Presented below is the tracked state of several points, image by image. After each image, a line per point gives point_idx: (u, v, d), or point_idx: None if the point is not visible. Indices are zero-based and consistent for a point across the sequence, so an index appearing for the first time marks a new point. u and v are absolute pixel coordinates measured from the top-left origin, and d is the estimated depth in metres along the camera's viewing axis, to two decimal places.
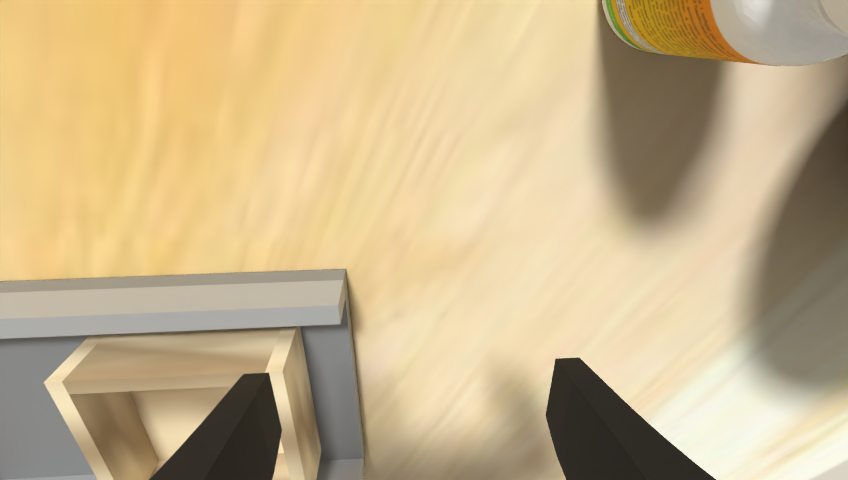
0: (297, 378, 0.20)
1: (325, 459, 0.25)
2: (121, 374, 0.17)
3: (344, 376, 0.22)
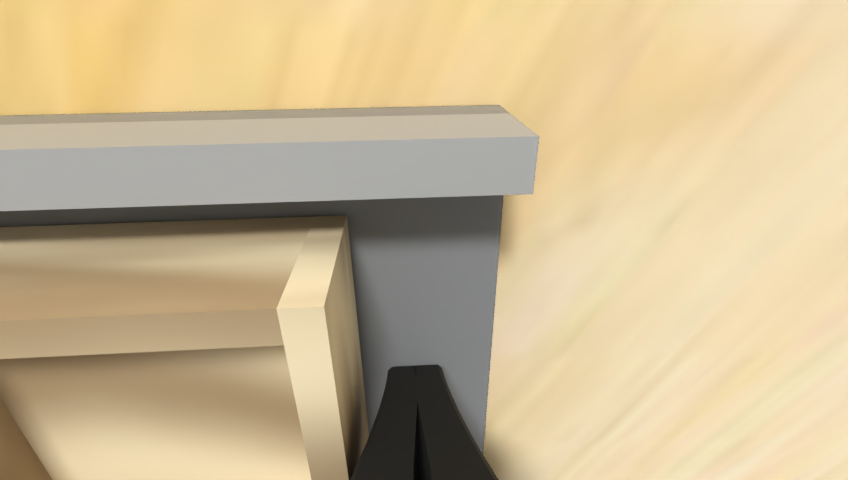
0: (347, 341, 0.09)
1: None
2: None
3: (473, 343, 0.11)
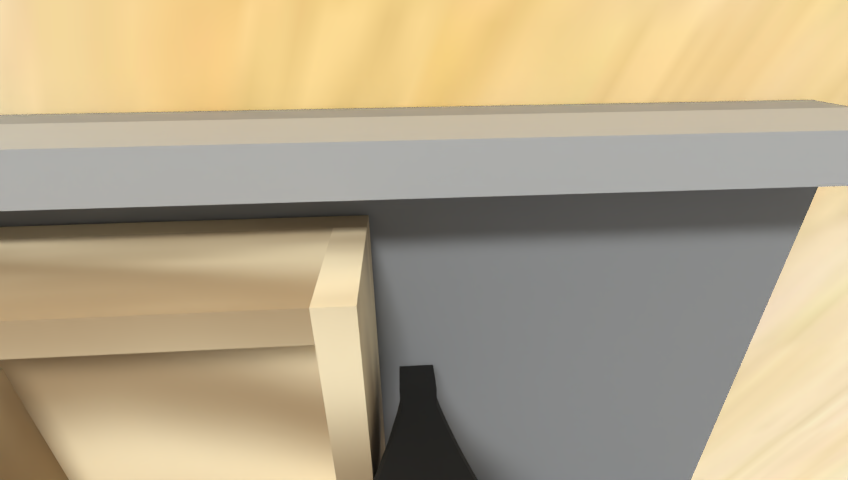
0: (370, 340, 0.09)
1: None
2: None
3: (738, 331, 0.12)
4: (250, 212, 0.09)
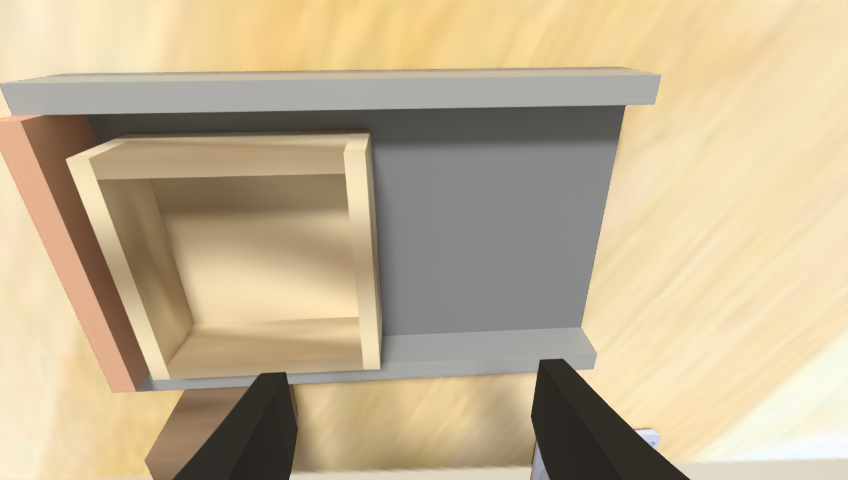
0: (371, 193, 0.16)
1: (540, 326, 0.22)
2: (162, 155, 0.14)
3: (593, 211, 0.19)
4: (302, 127, 0.17)
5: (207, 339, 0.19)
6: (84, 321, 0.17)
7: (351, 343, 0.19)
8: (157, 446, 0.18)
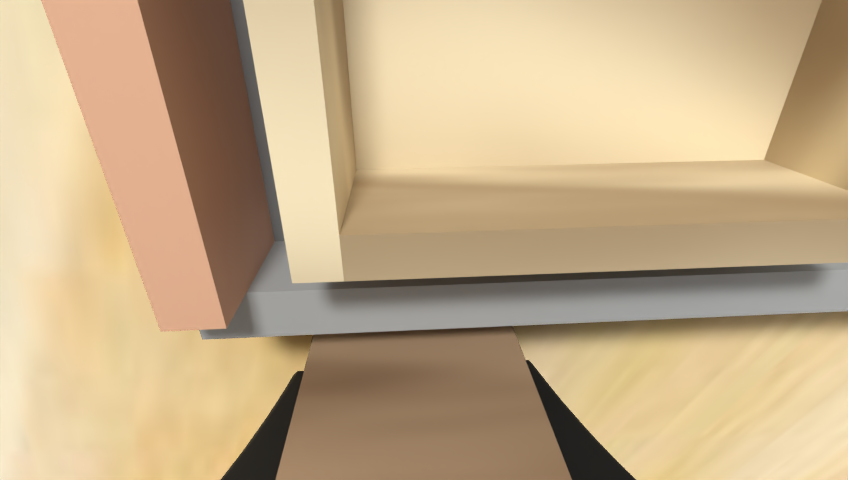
0: None
1: None
2: None
3: None
4: None
5: (414, 190, 0.07)
6: (80, 64, 0.05)
7: (824, 194, 0.07)
8: None
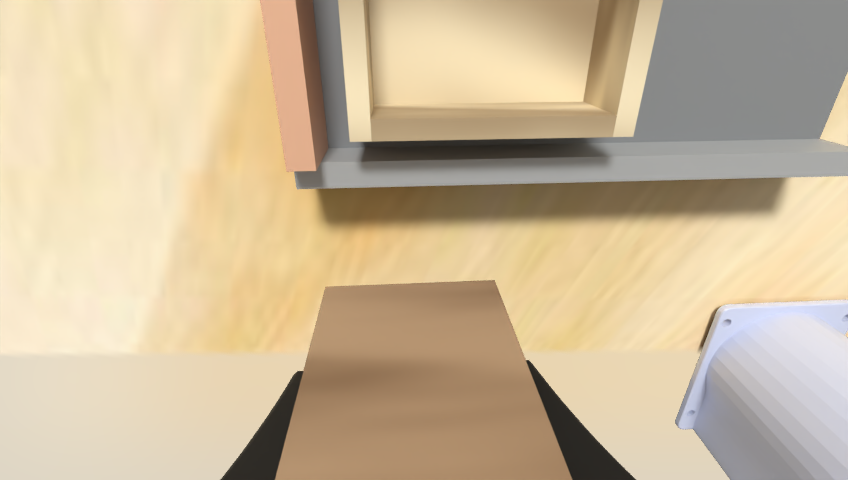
0: None
1: (773, 136, 0.18)
2: None
3: None
4: None
5: (402, 109, 0.15)
6: (273, 48, 0.13)
7: (589, 110, 0.15)
8: (289, 478, 0.06)
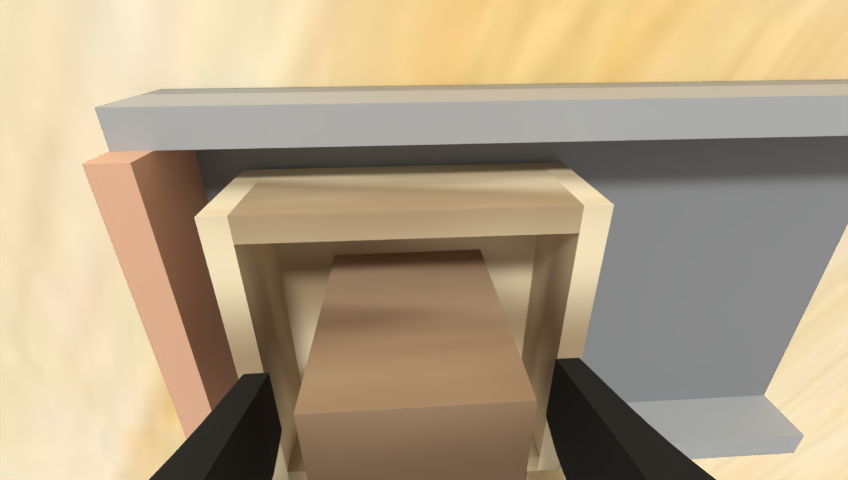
0: None
1: (716, 395, 0.18)
2: (327, 209, 0.10)
3: (816, 260, 0.15)
4: (474, 159, 0.13)
5: None
6: (184, 417, 0.13)
7: None
8: (311, 386, 0.08)
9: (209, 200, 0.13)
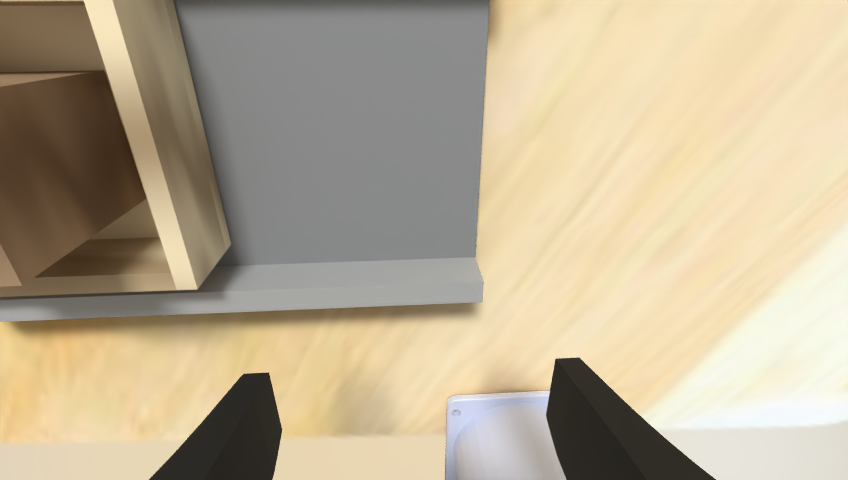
0: (159, 53, 0.13)
1: (426, 256, 0.19)
2: None
3: (471, 102, 0.16)
4: None
5: None
6: None
7: (167, 260, 0.15)
8: None
9: None
